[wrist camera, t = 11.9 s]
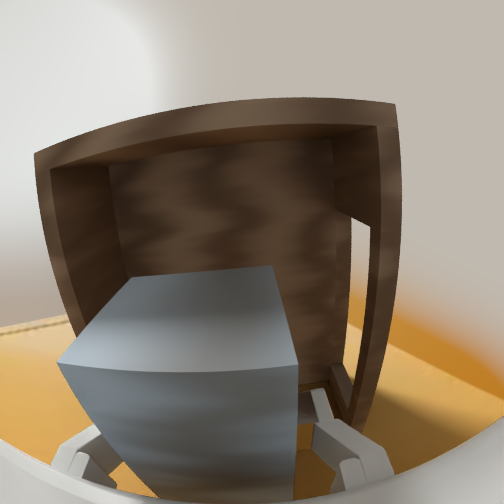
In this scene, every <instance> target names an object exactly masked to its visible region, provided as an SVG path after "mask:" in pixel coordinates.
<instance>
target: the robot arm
mask: <svg viewBox="0 0 504 504" xmlns="http://www.w3.org/2000/svg"><path fill="white" fill-rule="evenodd" d="M306 449H311V450H312V451H313V452H314V453H315V454H316V455H317V456H318V457H320V458H321V459H322V460H323V461H324V462H325V463H326V464H327V465H328V466H329V467H331V468H332V469H333V470H334V471H335V472H336V475H335V477H334V480H333V482H332V485H331V487H330V492H331V494H329V495H324V496H319V497H313V498H307V499H301V500H293V501H285V502H275V503H262V504H504V416H503V417H501V418H500V419H498V420H497V421H496V422H494V423H493V424H491V425H490V426H489V427H487V428H486V429H484V430H483V431H481V432H480V433H478V434H477V435H475V436H473V437H472V438H470V439H469V440H467V441H465V442H464V443H462V444H460V445H458V446H457V447H455V448H453V449H451V450H449V451H448V452H446V453H444V454H442V455H440V456H438V457H436V458H434V459H432V460H430V461H428V462H425V463H423V464H421V465H419V466H417V467H414V468H412V469H410V470H407V471H405V472H402V473H400V474H397V475H395V473H394V470H393V468H392V466H391V463H390V461H389V458H388V456H387V454H386V451H385V449H384V448H383V447H382V446H380V445H378V444H377V443H375V442H373V441H372V440H370V439H369V438H367V437H365V436H364V435H362V434H361V433H359V432H358V431H356V430H355V429H353V428H352V427H350V426H349V425H347V424H346V423H344V422H343V421H341V420H340V419H334V417H333V414H332V411H331V408H330V405H329V402H328V399H327V396H326V393H325V390H324V389H323V388H319V389H313V390H310V391H309V390H306V391H299V392H298V416H297V443H296V451H298V450H306ZM122 462H123V460H122V459H121V457H120V456H119V455H118V454H117V453H116V452H115V450H114V449H113V448H112V447H111V445H110V444H109V443H108V442H107V440H106V439H105V438H104V437H103V435H102V434H101V433H100V431H99V430H98V429H97V427H96V426H95V424H92V425H91V426H89V427H88V428H86V429H85V430H83V431H82V432H80V433H78V434H77V435H75V436H74V437H72V438H70V439H69V440H67V441H66V442H64V443H62V444H61V445H60V447H59V449H58V451H57V453H56V455H55V457H54V459H53V461H52V463H51V465H48V464H46V463H44V462H42V461H40V460H38V459H36V458H34V457H32V456H30V455H28V454H26V453H24V452H22V451H20V450H19V449H17V448H15V447H13V446H12V445H10V444H8V443H7V442H5V441H3V440H2V439H0V504H205V503H192V502H182V501H174V500H167V499H160V498H154V497H149V496H144V495H139V494H134V493H130V492H126V491H122V490H118V489H116V488H117V483H116V482H115V481H114V480H113V479H112V478H111V477H110V476H109V474H110V473H111V472H112V471H113V470H114V469H115V468H117V467H118V466H119V465H120V464H121V463H122Z"/></svg>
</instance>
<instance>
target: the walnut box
mask: <svg viewBox="0 0 504 504" xmlns="http://www.w3.org/2000/svg"><path fill="white" fill-rule="evenodd" d="M34 162H35V163H34V164H35V176H36V186H37V194H38V202H39V208H40V214H41V220H42V225H43V230H44V235H45V240H46V245H47V249H48V253H49V257H50V261H51V265H52V268H53V272H54V276H55V279H56V282H57V286H58V289H59V292H60V295H61V298H62V301H63V304H64V307H65V309H66V312H67V315H68V318H69V320H70V323H71V325H72V328H73V330H74V333H75V335H76V338H77V337H78V336H79V335H80V333H81V332H82V331H83V330H84V329H85V328H86V326H87V325H88V324H89V323H90V322H91V321H92V320H93V318H94V317H95V316H96V315H97V314H98V313H99V312H100V311H101V310H102V308H103V307H104V306H105V305H106V304H107V303H108V302H109V301H110V300H111V299H112V298H113V297H114V295H115V294H116V293H117V292H118V291H119V290H120V289H121V288H122V287H123V286H124V285H125V284H126V283H127V282H128V281H129V280H130V279H131V278H132V277H143V276H155V275H167V274H179V273H191V272H203V271H214V270H225V269H236V268H246V267H257V266H267V265H272V266H273V270H274V274H275V277H276V281H277V285H278V288H279V292H280V296H281V300H282V303H283V307H284V311H285V315H286V319H287V322H288V326H289V330H290V334H291V338H292V342H293V345H294V349H295V353H296V357H297V361H298V385H301V384H308V383H314V382H321V381H327V380H329V382H330V385H331V388H332V391H333V394H334V396H335V399H336V402H337V405H338V408H339V411H340V414H341V417H342V419H343V422H344V423H346V424H347V425H349V426H350V427H352V428H353V429H355V430H356V431H358V432H359V433H360V432H362V431H363V428H364V425H365V422H366V419H367V416H368V413H369V410H370V407H371V404H372V400H373V397H374V394H375V390H376V387H377V383H378V379H379V375H380V371H381V367H382V363H383V359H384V355H385V350H386V346H387V341H388V336H389V330H390V325H391V320H392V313H393V307H394V301H395V294H396V285H397V277H398V268H399V256H400V242H401V221H402V219H401V218H402V177H401V156H400V142H399V131H398V122H397V114H396V107H395V104H391V103H384V102H376V101H366V100H355V99H339V98H307V97H302V98H267V99H252V100H239V101H229V102H220V103H213V104H205V105H198V106H192V107H186V108H180V109H175V110H170V111H165V112H160V113H155V114H151V115H146V116H142V117H138V118H134V119H130V120H127V121H123V122H119V123H116V124H112V125H109V126H106V127H102V128H99V129H96V130H93V131H90V132H87V133H84V134H81V135H78V136H75V137H73V138H70V139H67V140H65V141H62V142H60V143H57V144H55V145H52V146H50V147H48V148H45V149H43V150H40V151H38V152H36V153H34ZM351 217H352V218H354V219H356V220H358V221H360V222H362V223H364V224H366V225H368V226H370V257H369V273H368V286H367V298H366V308H365V316H364V325H363V332H362V339H361V346H360V352H359V358H358V364H357V370H356V375H355V380H354V385H352V383H351V381H350V378H349V376H348V374H347V372H346V369H345V367H344V365H343V356H344V348H345V339H346V330H347V319H348V307H349V292H350V272H351Z"/></svg>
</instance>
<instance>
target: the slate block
mask: <svg viewBox="0 0 504 504" xmlns="http://www.w3.org/2000/svg"><path fill="white" fill-rule="evenodd" d="M57 364H58V366H59V368H60V370H61V372H62V374H63V375H64V377H65V379H66V381H67V382H68V384H69V386H70V388H71V389H72V391H73V393H74V394H75V396H76V398H77V399H78V401H79V402H80V404H81V405H82V407H83V408H84V410H85V411H86V413H87V414H88V416H89V417H90V419H91V420H92V422H93V423H94V424H95V426H96V427H97V429H98V430H99V431H100V433H101V434H102V435H103V437H104V438H105V439H106V440H107V442H108V443H109V444H110V445H111V447H112V448H113V449H114V450H115V452H116V453H117V454H118V455H119V456H120V457H121V459H122V460H123V461H124V462H125V463H126V464H127V465H128V467H129V468H130V469H131V470H132V471H133V472H134V473H135V474H136V475H137V476H138V477H139V478H140V479H141V480H142V481H143V482H144V483H145V484H146V485H147V486H148V487H149V488H150V489H151V490H152V491H153V492H154V493H155V494H156V495H157V496H158V497H159V498H160V499H167V500H174V501H182V502H192V503H205V504H262V503H275V502H285V501H293V492H294V478H295V462H296V443H297V416H298V361H297V357H296V353H295V349H294V345H293V342H292V338H291V334H290V330H289V326H288V322H287V319H286V315H285V311H284V307H283V303H282V300H281V296H280V292H279V288H278V285H277V281H276V277H275V274H274V270H273V266H272V265H267V266H257V267H246V268H236V269H225V270H214V271H203V272H191V273H179V274H167V275H155V276H143V277H132V278H131V279H130V280H129V281H128V282H127V283H126V284H125V285H124V286H123V287H122V288H121V289H120V290H119V291H118V292H117V293H116V294H115V295H114V297H113V298H112V299H111V300H110V301H109V302H108V303H107V304H106V305H105V306H104V307H103V308H102V310H101V311H100V312H99V313H98V314H97V315H96V316H95V317H94V318H93V320H92V321H91V322H90V323H89V324H88V325H87V326H86V328H85V329H84V330H83V331H82V332H81V333H80V335H79V336H78V337H77V338H76V339H75V340H74V342H73V343H72V344H71V345H70V346H69V348H68V349H67V350H66V351H65V352H64V354H63V355H62V356H61V357H60V358H59V360H58V361H57Z"/></svg>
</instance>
